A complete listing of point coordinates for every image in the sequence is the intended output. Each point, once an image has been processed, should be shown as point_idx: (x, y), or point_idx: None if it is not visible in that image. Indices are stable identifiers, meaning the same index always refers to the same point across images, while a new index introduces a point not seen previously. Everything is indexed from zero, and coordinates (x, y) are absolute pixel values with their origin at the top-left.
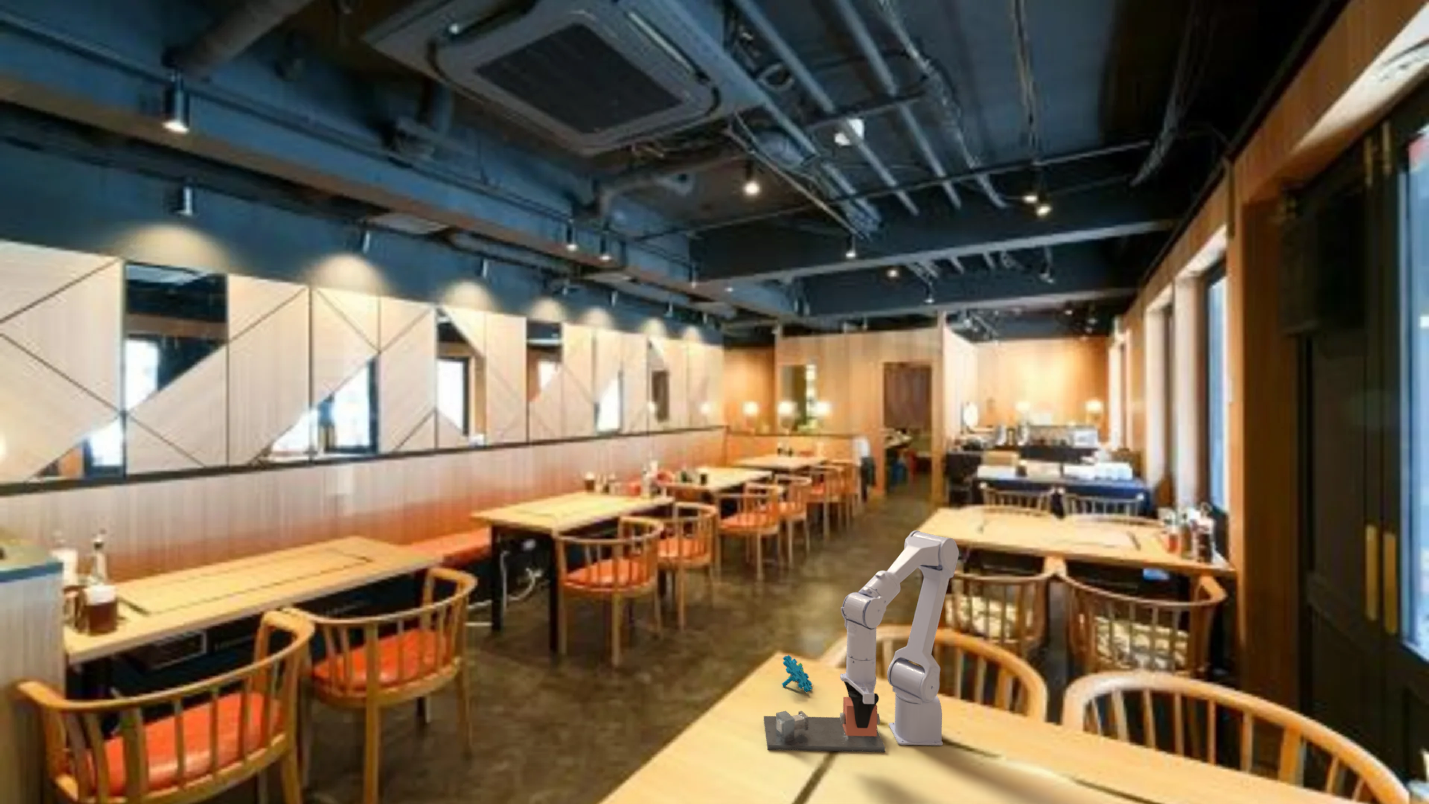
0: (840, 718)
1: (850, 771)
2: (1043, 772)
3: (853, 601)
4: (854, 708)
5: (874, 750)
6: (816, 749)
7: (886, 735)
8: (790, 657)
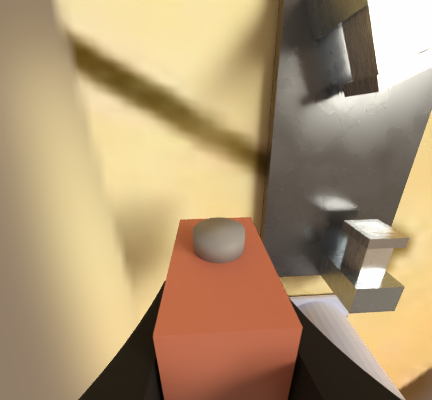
0: (227, 226)
1: (184, 191)
2: None
3: None
4: (96, 383)
5: None
6: (270, 117)
7: (315, 282)
8: None
